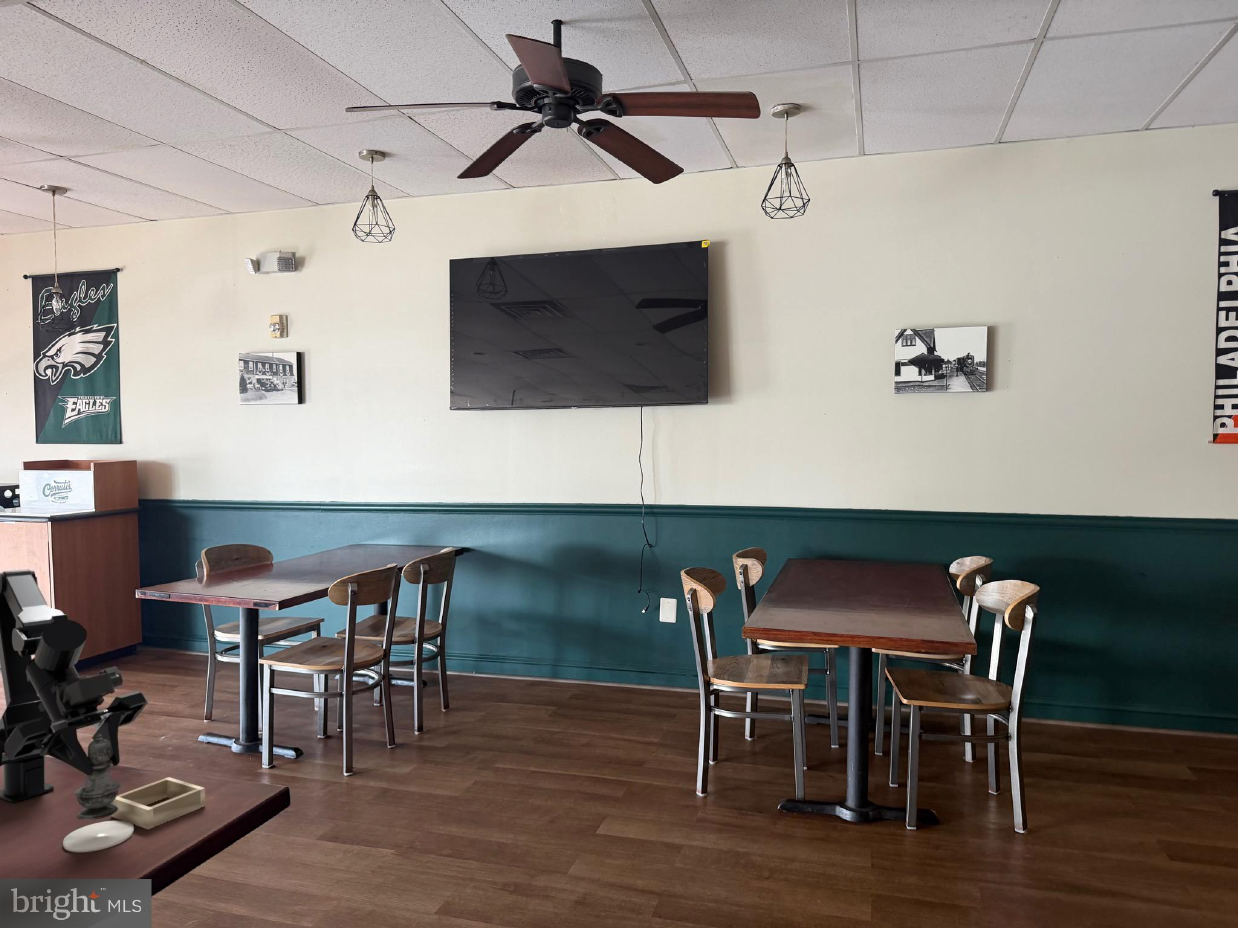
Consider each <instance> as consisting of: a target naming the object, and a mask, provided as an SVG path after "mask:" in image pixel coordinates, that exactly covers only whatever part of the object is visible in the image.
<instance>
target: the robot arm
mask: <svg viewBox="0 0 1238 928" xmlns="http://www.w3.org/2000/svg"><path fill="white" fill-rule="evenodd" d="M87 637H88V631H87V629H86V628H85V627H84V626H83V624H80V622H77V621H75V620H71V619H69V617H68V614H64V612H63V611H62V610H60V609H56V608H52V607H50V606H49V604H48V602H47V601H46V598H45V597H44V595H43V594H42V591H41V589H40V588H39V584H38V576H36V572H35V570H33V569H32V570H30V569H28V568H27V569H18V570H16V569H15V570H5V571H2V572H0V671H1V677H2V678H1V679H2V684H3V685H2V686H3V691H4V698H5V705H6V708H5V710H4V711H3V713H2V716H1V717H0V767H2V766H3V788H2V789H1V790H0V799H1V800H5V801H8V802H9V803H17V802H20V801H24V800H26V799H30V798H32V797H35V796H38V795H41V794H44V793H48V792H50V791H53V790H55V785H52V784H51V783H50V784H49V783H46V782H45V781H46V778H45V777H46V775H45V774H46V772H45V771H46V767H45V766H46V765H45V764H46V763H45V762H46V760H45V759H46V756H49V757H52V758H54V759H57V760H59V761H61V762H62V763H65V764H67V765H69V766H71V767H72V768H74V769H76V770H77V771H80V772H81V773H83V774H85V775H86V776H87V775H91V774H92V773H93V771H94V770H93V767H92V765H91V762H90V760H89V758H88V754H87V753H86V751H85V749H84V748H83V746H82V744H81V743H80V741H79V739H78V731H77V730H80V729H82V728H83V729H84V728H86V727H90V726H92V727H93V729H94V730H95V733H94V734H93V736H92V737H91V739H92V741H93V740H96V739H97V738H98V737H97V736H98V734H99V733H100V734H101V735H102V736H101V738H103V739H106V740H108V741H109V742H110V760H112V761H113V763H112V764H111V765H113V766H114V767H116V766H118V765H119V764H120V761H121V760H120V748H119V728H120V727H123V726H128V725H129V724H131V723H133V722H135V720H136V719H137V717H138V716H139V715H140V713H141V712H142V711H143V710H144V708H146V706H147V705H148V703H149V702H148V700H147V698H146V696H145V694H143V692H141V691H137V690H135V691H132V692H129V693H125V694H121V695H117V696H115V698H114V699H113V701H111V703H110V704H109V705H108V707H105V708H102V709H98V707H99V706H101V705H102V704H103V703H104V702H105V699H104V697H105V696H107V695H110V694H114V693H116V691H115V689H116V688H118V687H121V686H122V685H123V684H124V683H123V682H124V680H123V675H122V673H121V672H120V670H119V669H118V667H117V666H112V667H108V668H104V669H103V670H101V671H99V674H98V675H93V676H88V677H87V676H82V677H80V675H79V673H78V671H77V669H76V667H75V665H76V664H77V663H78V661H79V658H80V655H81V654H82V651H83V648H84V645H85V643H86V641H87ZM32 656H34V657H32Z"/></svg>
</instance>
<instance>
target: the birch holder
mask: <svg viewBox="0 0 1238 928" xmlns="http://www.w3.org/2000/svg"><path fill="white" fill-rule="evenodd" d="M163 798H164V799H166V798H168V799H167V800H165V801H162V802H160V803H157V804H155V805H152V806H148V805H150V804H153V803H156V802H158V800H159V801H161V800H163ZM171 798H172V799H171ZM155 801H156V802H155ZM111 804H113V805H115V806H117V807H118V810H117V812H116V813H114V814H112V815H110V817H112V818H114V819H116V820H119V821H126V822H130V823H131V824H133V825H134V824H135V825H134V826H137V827H139V828H143V829H145V830H150V829H152V828H155V827H157V826H160V825H163V824H165V823H167V821H168V822H169V821H172V820H174V819H177V818H180V817H181V816H184V815H187V814H189V813H192V812H194V811H196V810H199V809H201V807H202V808H203V807H206V788H205V787H204V786H199V785H196V784H193V783H190V782H186V781H183V780H179V779H177V778H173V777H170V776H168V777H165V778H163V779H160V780H157V781H154V782H152V783H148V784H146V785H142V786H140V787H138V788H135V789H132V790H129V791H127V792H124V793H121V794H117V796H116V799H115V800H114V801H113V802H112V803H111Z"/></svg>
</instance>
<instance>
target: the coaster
mask: <svg viewBox="0 0 1238 928" xmlns="http://www.w3.org/2000/svg"><path fill="white" fill-rule="evenodd" d="M134 826H135V825H134V824H131V823H130V822H126V821H123V820H107V821H101V822H96V823H91V824H88V825H85V826H83V827H82V826H81V827H80V828H78V829H75V830H74V831H72V832H70V833H69V834H67V835H66V836H65V837H64V839H63V842H62V843H63V844H62V846H63V849H64V850H65V851H69V852H72V853H90V852H96V851H101V850H104V849H108V848H112V847H114V846H116V845H119V844H121V843H124V842H126V841H127V840H128V839H129V838H131V837H132V836H133V834H134V832H135V829H134V828H135V827H134Z"/></svg>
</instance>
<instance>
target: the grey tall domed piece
mask: <svg viewBox="0 0 1238 928" xmlns="http://www.w3.org/2000/svg"><path fill="white" fill-rule="evenodd" d="M101 736H102V735H101V734H100V733H99V734H98V736H97V737H98V738H97V739H96V740H93V739H92V741H91V742H89V744H88V747H87V757H88V758H89V760H90V762H91V765H92V767H93V770H94V771H93V773H92V774H91V775H86V780H85V784H84V785H83V786H81V787H80V788H78V789H76V790H75V792H74V795H75V796H76V800H77V802H78V804H79V805H80V806H81V807H82V808H83V809H81V810H80V811H79V812H78V813H77V814H76V818H77V819H78V820H82V821H96V820H99V819H104V818H107V817H111V815H112V814H114V813H116V812H117V810H118V807H117V806H115V805H113V804H111V803H112V802H113V801H114V800H115V799H116V796H118V795H119V790H120V789H121V788H122V787H121V786H122V785H121V783H119V782H117V781H112V778H111V777H112V776H111V765H112V763H113V761H112V760H110V742H109V741H108V740H106V739H103V738H101Z"/></svg>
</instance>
